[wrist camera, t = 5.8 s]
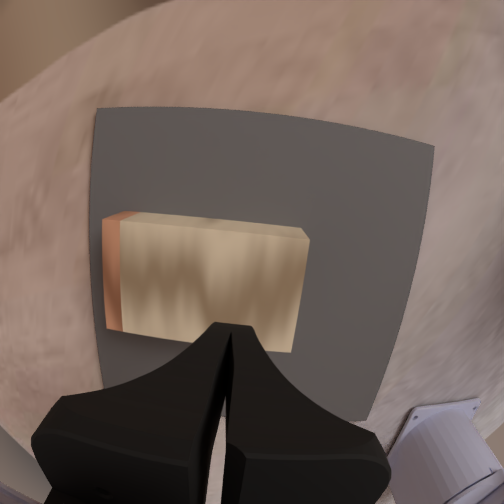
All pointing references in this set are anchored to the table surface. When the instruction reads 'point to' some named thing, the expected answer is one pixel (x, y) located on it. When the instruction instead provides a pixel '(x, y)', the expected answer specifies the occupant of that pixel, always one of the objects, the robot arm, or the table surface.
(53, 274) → the table surface
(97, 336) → the rubber mat
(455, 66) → the table surface
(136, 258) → the birch block
